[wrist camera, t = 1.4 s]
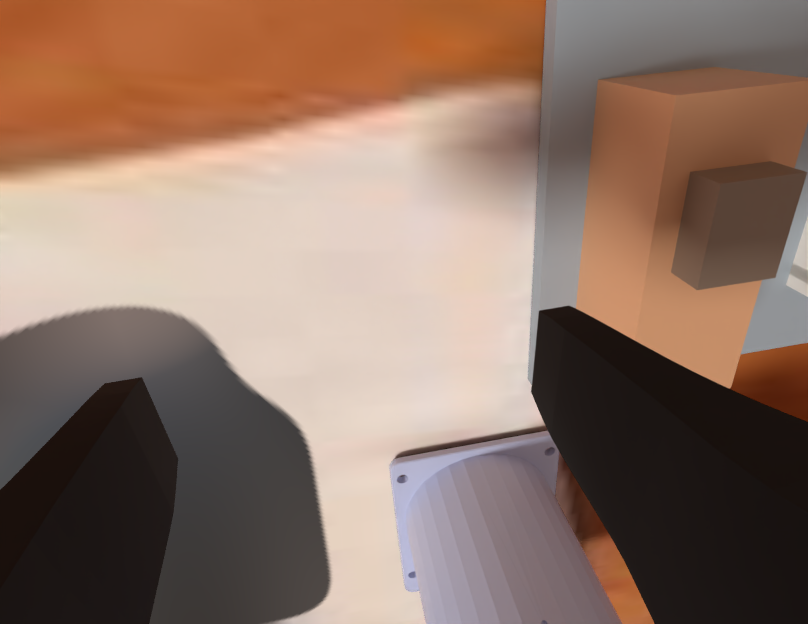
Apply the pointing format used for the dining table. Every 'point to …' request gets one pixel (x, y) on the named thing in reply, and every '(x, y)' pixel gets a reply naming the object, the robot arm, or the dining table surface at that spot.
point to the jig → (647, 54)
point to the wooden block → (690, 207)
